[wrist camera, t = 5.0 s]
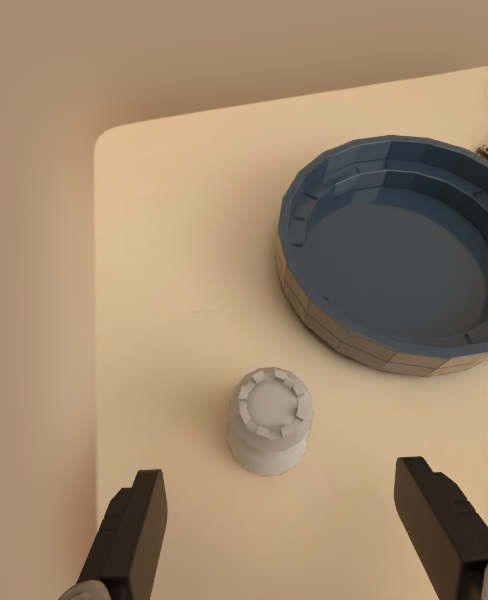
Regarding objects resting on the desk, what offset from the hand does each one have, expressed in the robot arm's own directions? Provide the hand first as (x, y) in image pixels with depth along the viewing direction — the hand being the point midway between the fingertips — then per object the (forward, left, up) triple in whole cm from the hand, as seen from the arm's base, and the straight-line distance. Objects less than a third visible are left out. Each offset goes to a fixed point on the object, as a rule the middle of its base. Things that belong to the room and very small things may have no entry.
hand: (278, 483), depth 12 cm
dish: (+16, -2, -8) cm, 18 cm away
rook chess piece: (+2, +1, -8) cm, 8 cm away
